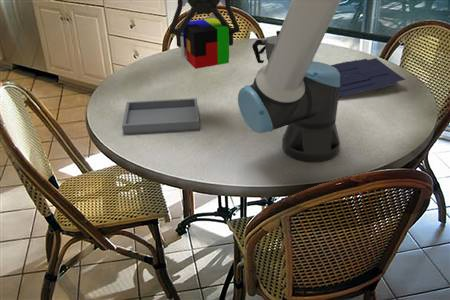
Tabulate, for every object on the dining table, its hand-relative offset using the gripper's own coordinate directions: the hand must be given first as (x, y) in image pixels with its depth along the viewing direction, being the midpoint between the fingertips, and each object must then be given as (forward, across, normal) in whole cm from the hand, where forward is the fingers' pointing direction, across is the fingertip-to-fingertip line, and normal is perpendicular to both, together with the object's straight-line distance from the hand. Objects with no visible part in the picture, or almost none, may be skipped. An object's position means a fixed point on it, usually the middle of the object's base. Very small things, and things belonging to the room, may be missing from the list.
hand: (205, 56), depth 137 cm
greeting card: (+20, 0, -57) cm, 60 cm away
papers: (+19, -49, -21) cm, 56 cm away
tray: (+19, +14, +2) cm, 23 cm away
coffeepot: (+19, -24, -24) cm, 39 cm away
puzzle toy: (+1, 0, 0) cm, 1 cm away
